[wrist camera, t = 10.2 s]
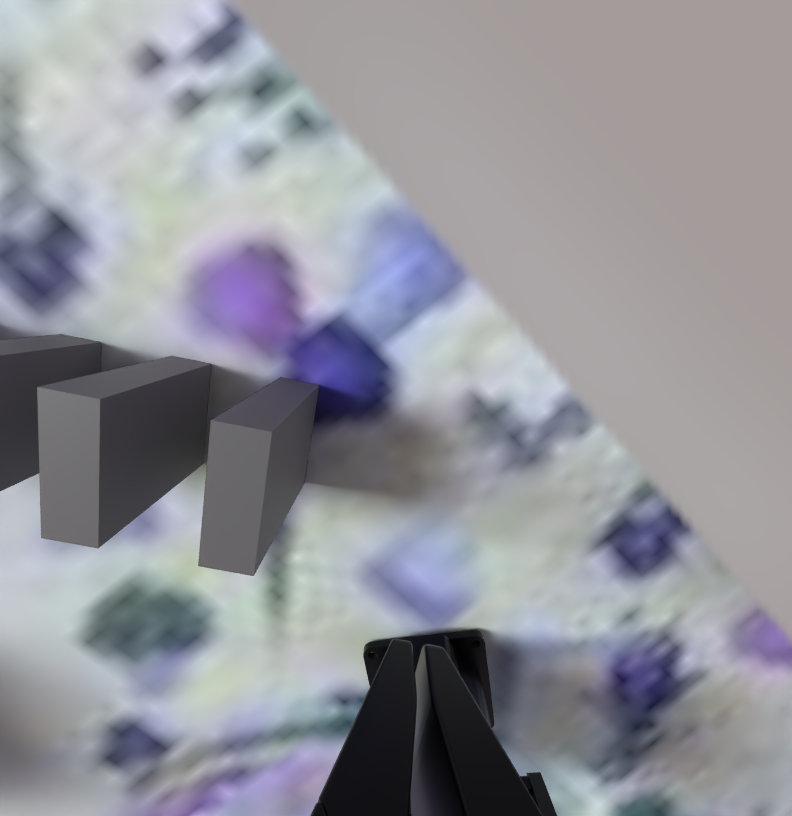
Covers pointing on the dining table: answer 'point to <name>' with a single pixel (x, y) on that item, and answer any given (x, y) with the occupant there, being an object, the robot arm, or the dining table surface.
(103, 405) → the domino
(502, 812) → the robot arm
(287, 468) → the domino
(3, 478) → the domino
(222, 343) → the dining table surface
